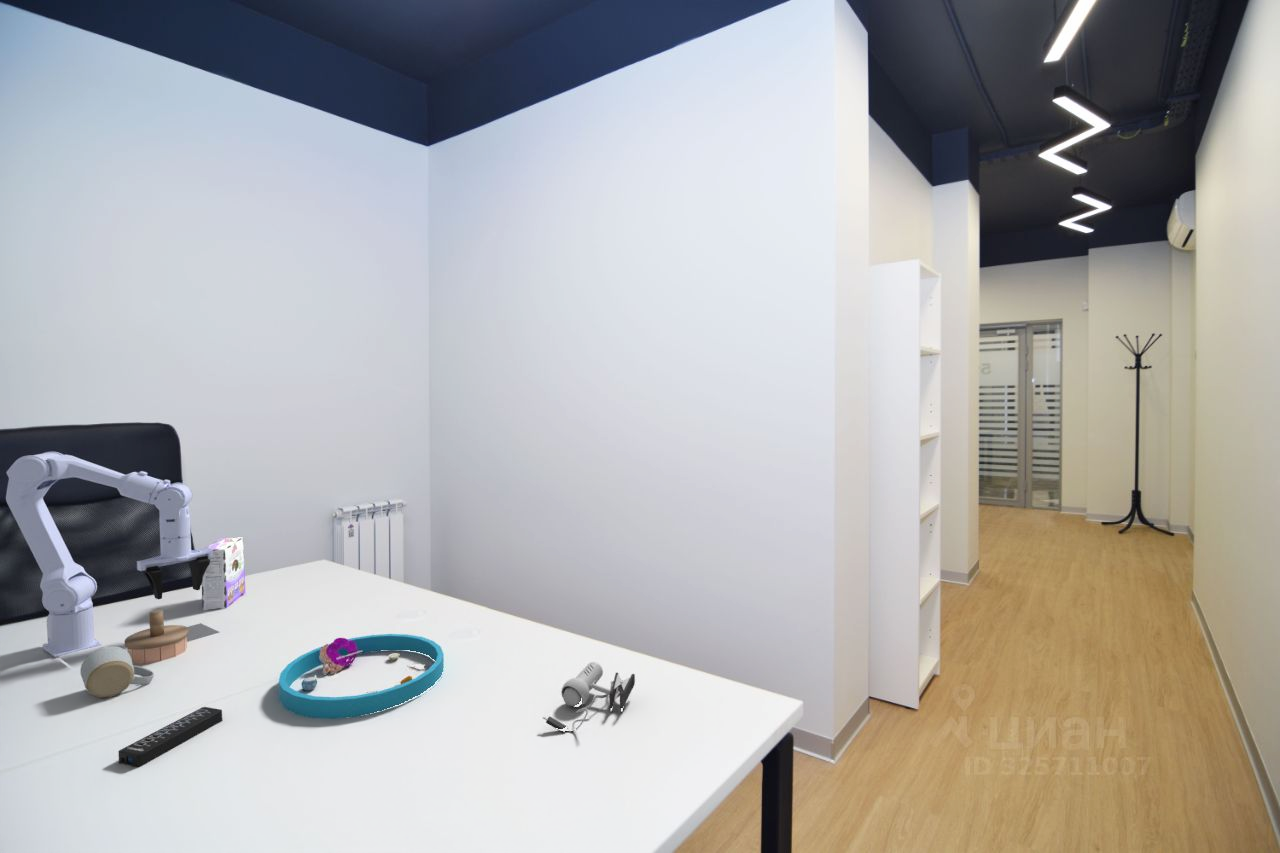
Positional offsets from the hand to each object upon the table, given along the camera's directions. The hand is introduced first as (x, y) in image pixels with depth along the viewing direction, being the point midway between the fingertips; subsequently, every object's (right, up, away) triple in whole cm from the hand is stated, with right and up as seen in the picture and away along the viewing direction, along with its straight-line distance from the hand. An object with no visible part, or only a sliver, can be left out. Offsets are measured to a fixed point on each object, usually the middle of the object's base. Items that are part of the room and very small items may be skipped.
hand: (177, 593), depth 147 cm
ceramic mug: (+7, -12, -25) cm, 28 cm away
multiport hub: (+31, -14, -42) cm, 54 cm away
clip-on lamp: (+99, -13, -33) cm, 105 cm away
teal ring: (+53, -13, -20) cm, 58 cm away
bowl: (+3, -11, -10) cm, 15 cm away
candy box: (-5, -9, +24) cm, 26 cm away
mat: (+1, -10, +1) cm, 10 cm away
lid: (+3, -7, -10) cm, 12 cm away
